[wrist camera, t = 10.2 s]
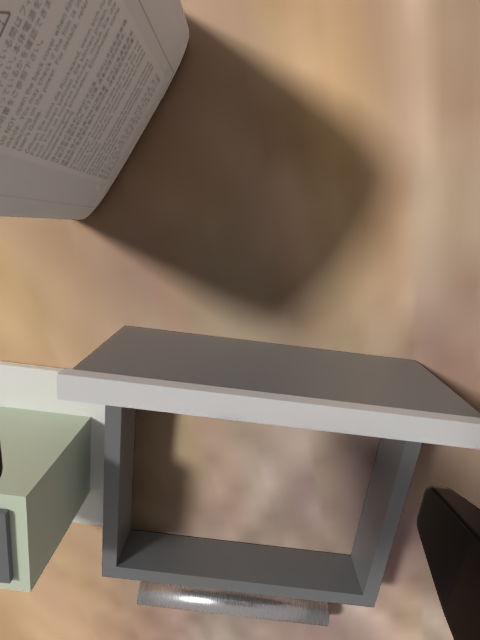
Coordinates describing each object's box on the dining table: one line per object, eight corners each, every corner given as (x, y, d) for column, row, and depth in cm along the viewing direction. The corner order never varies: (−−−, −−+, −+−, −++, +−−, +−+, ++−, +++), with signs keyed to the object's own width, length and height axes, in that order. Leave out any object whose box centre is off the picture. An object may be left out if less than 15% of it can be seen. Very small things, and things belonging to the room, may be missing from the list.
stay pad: (110, 374, 20) (107, 377, 19) (107, 520, 22) (104, 525, 22) (-17, 359, 20) (-22, 361, 19) (-5, 507, 22) (-10, 512, 22)
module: (90, 416, 20) (21, 501, 14) (90, 491, 21) (27, 598, 15) (1, 406, 20) (-107, 486, 14) (6, 481, 21) (-91, 584, 15)
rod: (325, 592, 23) (330, 615, 22) (321, 608, 24) (326, 631, 22) (143, 571, 23) (137, 593, 22) (143, 588, 24) (136, 610, 22)
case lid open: (420, 359, 19) (505, 427, 13) (412, 386, 19) (491, 465, 13) (120, 323, 19) (56, 373, 12) (120, 351, 19) (57, 413, 13)
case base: (408, 387, 19) (435, 415, 17) (360, 566, 23) (376, 614, 20) (123, 353, 19) (102, 375, 16) (117, 538, 23) (99, 583, 20)
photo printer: (121, -37, 15) (-431, -1160, 3) (207, 32, 15) (58, -650, 3) (14, 180, 17) (-533, 82, 5) (92, 233, 18) (-237, 256, 6)
